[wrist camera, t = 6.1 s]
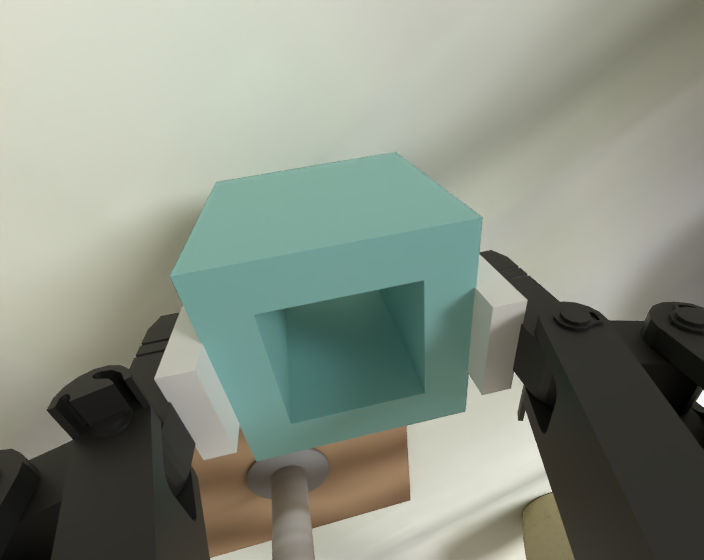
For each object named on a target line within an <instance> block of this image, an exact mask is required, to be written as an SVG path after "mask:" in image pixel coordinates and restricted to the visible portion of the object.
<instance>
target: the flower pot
mask: <svg viewBox="0 0 704 560" xmlns="http://www.w3.org/2000/svg"><path fill="white" fill-rule="evenodd" d="M522 527H523V540H524V547H525V554H526V559H527V560H575V559H574V556H573V553H572V550H571V547H570V544H569V541H568V538H567V535H566V532H565V529H564V526H563V522H562V519H561V516H560V513H559V510H558V507H557V504H556V501H555V498H554V495H553V493H549V494H546V495H543V496H541V497H539V498H537V499H536V500H534V501H533V502H531V503H530V504H529V505H528V506H527V507H526V508H525V509H524V511H523V514H522Z"/></svg>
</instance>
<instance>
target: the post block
mask: <svg viewBox="0 0 704 560" xmlns="http://www.w3.org/2000/svg"><path fill="white" fill-rule="evenodd" d="M191 465H192V467H193V469H194V470H195V472H196V475H197V477H198V481H199V488H200V495H201V502H202V508H203V515H204V522H205V529H206V535H207V542H208V549H209V556H210V558H211V557H215V556H218V555H222V554H225V553H229V552H232V551H236V550H239V549H243V548H246V547H250V546H253V545H257V544H260V543H264V542H267V541H270V540H272V560H315V556H314V546H313V536H312V528H316V527H319V526H322V525H326V524H329V523H333V522H336V521H340V520H343V519H347V518H350V517H354V516H357V515H361V514H364V513H368V512H371V511H375V510H378V509H381V508H385V507H388V506H392V505H395V504H399V503H402V502H406V501H409V500H410V484H409V466H408V448H407V431H406V426H402V427H398V428H394V429H390V430H386V431H382V432H377V433H373V434H369V435H365V436H361V437H357V438H352V439H348V440H344V441H340V442H336V443H332V444H327V445H323V446H319V447H315V448H311V449H307V450H302V451H298V452H294V453H290V454H286V455H282V456H277V457H273V458H269V459H265V460H261V461H257V462H256V460H255V458H254V456H253V453H252V451H251V449H250V447H249V445H248V443H247V441H246V438H245V436H244V434H243V432H242V430H241V428H240V426H239V435H238V445H237V453H232V454H228V455H224V456H220V457H215V458H211V459H207V460H203V458H202V457H201V455H200V454H199V452H198V450H197V449H196V447H195V449H194V454H193V459H192V464H191Z"/></svg>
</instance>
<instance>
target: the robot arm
mask: <svg viewBox="0 0 704 560" xmlns="http://www.w3.org/2000/svg"><path fill="white" fill-rule="evenodd" d="M514 372H515V373H516V375H517V376H518V377H519V379H520V380H521V381H522V382H523V384H524V385H523V390H522V395H521V399H520V404H519V408H518V421H523V418H524V414H525V410H526V413H527V416H528V419H529V422H530V425H531V428H532V431H533V434H534V437H535V440H536V443H537V446H538V449H539V452H540V455H541V458H542V461H543V464H544V468H545V471H546V474H547V477H548V480H549V483H550V486H551V489H552V492H553V495H554V498H555V501H556V504H557V507H558V510H559V513H560V516H561V519H562V522H563V526H564V529H565V532H566V535H567V538H568V541H569V544H570V547H571V550H572V553H573V556H574V559H575V560H704V407H702V406H701V405H699V404H698V403H697V402H696V400H697V399H698V397H699V396H700V394H701V392H702V391H703V390H704V308H702V307H699V306H696V305H694V304H688V303H680V302H662V303H659V304H657V305H654V306H653V307H652V308H651V309H650V311H649V313H648V315H647V317H646V320H645V321H610V320H608V319H607V318H606V317H605V316H603V315H602V314H601V313H600V312H598V311H596V310H594V309H593V308H591V307H589V306H585V305H582V304H578V303H573V302H560V301H558V300H557V299H556V298H555V297H554V296H552V295H551V294H550V293H549V292H548V291H547V290H545V289H544V288H543V287H542V286H541V285H540V284H538V283H537V282H536V281H535V280H534V279H533V278H531V277H530V276H527V273H526V272H524V271H523V270H522V269H521V268H518V266H517V265H516V264H515V263H514V262H513V261H511V260H510V259H509V258H508V257H506V256H504V255H502V254H499V253H497V252H494V251H492V250H490V251H485V252H480V253H479V262H478V274H477V285H476V287H475V293H474V305H473V316H472V328H471V339H470V351H469V363H468V373H469V375H470V376H471V378H472V380H473V381H474V383H475V384H476V386H477V388H478V389H479V391H480V393H481V394H482V395H484V394H489V393H493V392H497V391H501V390H506V389H510V388H511V385H512V380H513V374H514ZM47 411H48V412H49V414H50V415H51V416H52V417H53V418H54V419H55V420H56V421H57V422H58V423H59V424H60V426H61V427H62V428H63V429H64V430H65V431H66V432H67V433H68V434H69V435H70V437H71V438H72V439H73V440H72V441H70V442H68V443H66V444H64V445H62V446H59V447H57V448H55V449H53V450H51V451H48V452H46V453H44V454H42V455H40V456H38V457H35V458H33V459H31V460H28V459H27V458H25V457H24V456H23V455H22V454H21V453H20V452H18V451H15V450H13V449H6V450H0V560H210V556H209V549H208V542H207V535H206V529H205V522H204V515H203V508H202V502H201V495H200V488H199V481H198V477H197V475H196V472H195V470H194V469H193V467H192V465H191V464H192V459H193V454H194V449H195V447H196V449H197V450H198V452H199V454H200V455H201V457H202V458H203V460H207V459H211V458H215V457H220V456H224V455H228V454H232V453H237V445H238V435H239V425H240V424H239V421H238V419H237V417H236V415H235V413H234V411H233V409H232V406H231V404H230V402H229V400H228V398H227V396H226V394H225V391H224V389H223V387H222V385H221V383H220V381H219V378H218V376H217V374H216V372H215V370H214V368H213V366H212V363H211V361H210V359H209V357H208V355H207V353H206V350H205V348H204V346H203V344H202V343H201V342H200V340H199V338H198V336H197V334H196V332H195V329H194V327H193V325H192V323H191V321H190V319H189V317H188V315H187V312H186V310H185V308H184V306H183V305H182V308H181V310H180V313H175V314H170V315H165V316H161V317H160V318H159V319H158V320H157V321H156V322H155V323H154V324H153V325H152V326H151V327H150V328H149V329H148V331H147V333H146V335H145V337H144V339H143V341H142V346H140V348H139V350H138V352H137V354H136V358H134V360H133V362H132V365H131V367H130V369H127V368H125V367H123V366H121V365H109V366H105V367H101V368H97V369H94V370H92V371H90V372H88V373H86V374H84V375H81V376H79V377H78V378H76V379H75V380H74V381H72V382H71V383H69V384H68V385H66V386H65V387H64V388H63V389H62V390H61V391H60V392H59V393H58V394H57V395H56V396H55V397H54V398H53V400H52V401H51V403H50V405H49V407H48V409H47Z"/></svg>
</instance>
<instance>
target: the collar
mask: <svg viewBox="0 0 704 560" xmlns="http://www.w3.org/2000/svg"><path fill="white" fill-rule="evenodd" d="M481 229H482V217H481V216H480V215H479V214H477V213H476V212H475V211H473V210H472V209H471V208H469V207H468V206H467V205H465V204H464V203H463V202H461V201H460V200H459V199H457V198H456V197H455V196H453V195H452V194H451V193H449V192H448V191H447V190H446V189H444V188H443V187H442V186H440V185H439V184H438V183H436V182H435V181H434V180H432V179H431V178H430V177H428V176H427V175H426V174H424V173H423V172H422V171H420V170H419V169H418V168H416V167H415V166H414V165H412V164H411V163H410V162H408V161H407V160H406V159H404V158H403V157H402V156H400V155H399V154H398V153H396V152H393V153H387V154H381V155H375V156H369V157H363V158H357V159H351V160H345V161H339V162H333V163H327V164H321V165H315V166H309V167H303V168H297V169H291V170H285V171H279V172H273V173H267V174H261V175H255V176H249V177H243V178H237V179H232V180H226V181H220V182H216V184H215V186H214V188H213V190H212V192H211V194H210V196H209V198H208V200H207V202H206V204H205V206H204V208H203V210H202V212H201V214H200V216H199V218H198V220H197V222H196V224H195V226H194V228H193V230H192V232H191V234H190V236H189V238H188V240H187V242H186V244H185V246H184V248H183V250H182V252H181V255H180V257H179V259H178V261H177V263H176V265H175V267H174V269H173V271H172V273H171V275H170V278H171V280H172V282H173V285H174V287H175V289H176V291H177V293H178V295H179V297H180V300H181V302H182V304H183V306H184V308H185V310H186V312H187V315H188V317H189V319H190V321H191V323H192V325H193V327H194V329H195V332H196V334H197V336H198V338H199V340H200V342H201V343H202V344H203V346H204V348H205V350H206V353H207V355H208V357H209V359H210V361H211V363H212V366H213V368H214V370H215V372H216V374H217V376H218V378H219V381H220V383H221V385H222V387H223V389H224V391H225V394H226V396H227V398H228V400H229V402H230V404H231V406H232V409H233V411H234V413H235V415H236V417H237V419H238V421H239V424H240V425H239V426H240V428H241V430H242V432H243V434H244V436H245V438H246V441H247V443H248V445H249V447H250V449H251V451H252V453H253V456H254V458H255V460H256V462H257V461H261V460H265V459H269V458H273V457H277V456H282V455H286V454H290V453H294V452H298V451H302V450H307V449H311V448H315V447H319V446H323V445H327V444H332V443H336V442H340V441H344V440H348V439H352V438H357V437H361V436H365V435H369V434H373V433H377V432H382V431H386V430H390V429H394V428H398V427H402V426H407V425H411V424H415V423H419V422H423V421H427V420H432V419H436V418H440V417H444V416H448V415H452V414H457V413H461V412H465V409H466V398H467V387H468V375H469V373H468V363H469V351H470V339H471V328H472V316H473V305H474V293H475V287H476V285H477V274H478V262H479V251H480V240H481Z"/></svg>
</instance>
